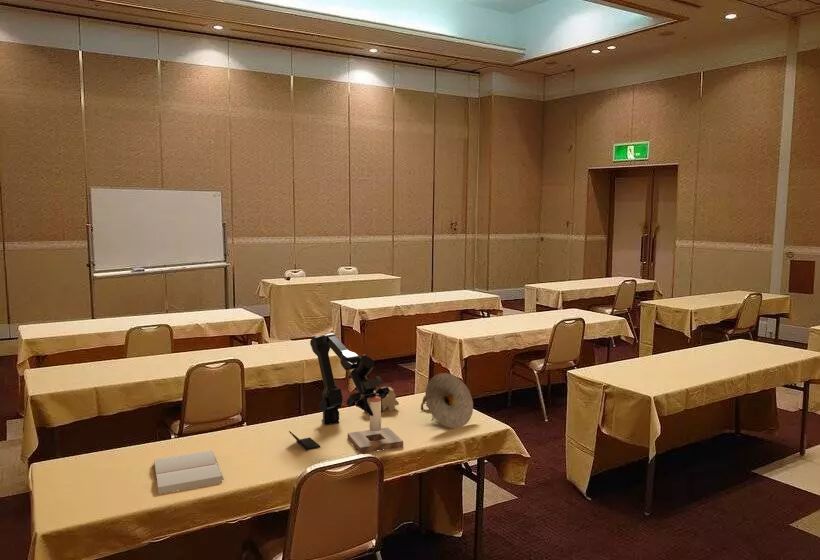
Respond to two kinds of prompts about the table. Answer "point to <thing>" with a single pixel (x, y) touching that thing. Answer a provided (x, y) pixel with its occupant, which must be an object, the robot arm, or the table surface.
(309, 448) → the black spatula
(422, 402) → the lion figurine
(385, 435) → the jig plate
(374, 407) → the post
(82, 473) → the table surface
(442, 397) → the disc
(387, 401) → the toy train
